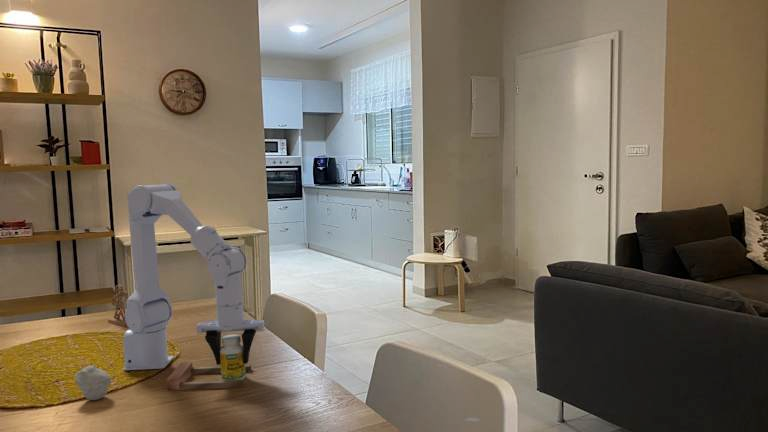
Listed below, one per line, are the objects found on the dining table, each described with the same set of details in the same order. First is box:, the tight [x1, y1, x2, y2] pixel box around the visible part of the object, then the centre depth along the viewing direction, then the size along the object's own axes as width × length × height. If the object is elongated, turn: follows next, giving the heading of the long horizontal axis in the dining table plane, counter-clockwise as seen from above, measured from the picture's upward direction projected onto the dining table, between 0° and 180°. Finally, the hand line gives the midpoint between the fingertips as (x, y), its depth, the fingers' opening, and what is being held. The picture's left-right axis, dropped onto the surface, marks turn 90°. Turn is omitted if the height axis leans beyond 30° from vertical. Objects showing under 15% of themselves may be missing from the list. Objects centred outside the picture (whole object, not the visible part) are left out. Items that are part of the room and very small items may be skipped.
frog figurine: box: [74, 365, 112, 401], centre depth 120 cm, size 6×7×7 cm
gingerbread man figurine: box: [107, 284, 129, 327], centre depth 178 cm, size 9×4×12 cm, turn 56°
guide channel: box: [166, 361, 252, 391], centre depth 129 cm, size 16×10×2 cm, turn 93°
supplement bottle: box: [220, 334, 247, 381], centre depth 129 cm, size 5×5×10 cm
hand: (232, 362), depth 129 cm, fingers closed on supplement bottle, 5 cm apart
